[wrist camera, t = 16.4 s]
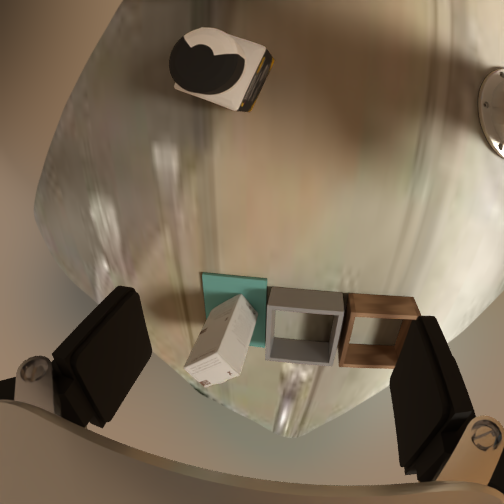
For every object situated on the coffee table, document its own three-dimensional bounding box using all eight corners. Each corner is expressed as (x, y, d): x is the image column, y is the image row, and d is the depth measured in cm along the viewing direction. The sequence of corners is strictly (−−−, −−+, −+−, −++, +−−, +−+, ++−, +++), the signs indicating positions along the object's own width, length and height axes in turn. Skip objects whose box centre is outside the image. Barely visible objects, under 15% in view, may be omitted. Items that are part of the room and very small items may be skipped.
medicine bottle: (251, 112, 33) (221, 111, 22) (197, 92, 33) (147, 85, 22) (275, 59, 30) (257, 33, 19) (220, 40, 30) (179, 12, 19)
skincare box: (240, 291, 43) (215, 350, 32) (260, 314, 44) (242, 375, 33) (209, 310, 45) (179, 366, 34) (229, 330, 46) (205, 389, 35)
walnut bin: (413, 297, 39) (421, 315, 35) (396, 348, 43) (401, 368, 39) (348, 292, 40) (351, 312, 36) (338, 345, 44) (338, 366, 40)
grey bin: (342, 292, 40) (344, 311, 36) (332, 345, 44) (332, 366, 40) (272, 286, 42) (267, 305, 38) (269, 339, 46) (265, 360, 42)
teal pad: (267, 278, 42) (266, 280, 41) (265, 345, 47) (264, 347, 46) (203, 272, 43) (201, 274, 43) (209, 337, 48) (208, 339, 48)
